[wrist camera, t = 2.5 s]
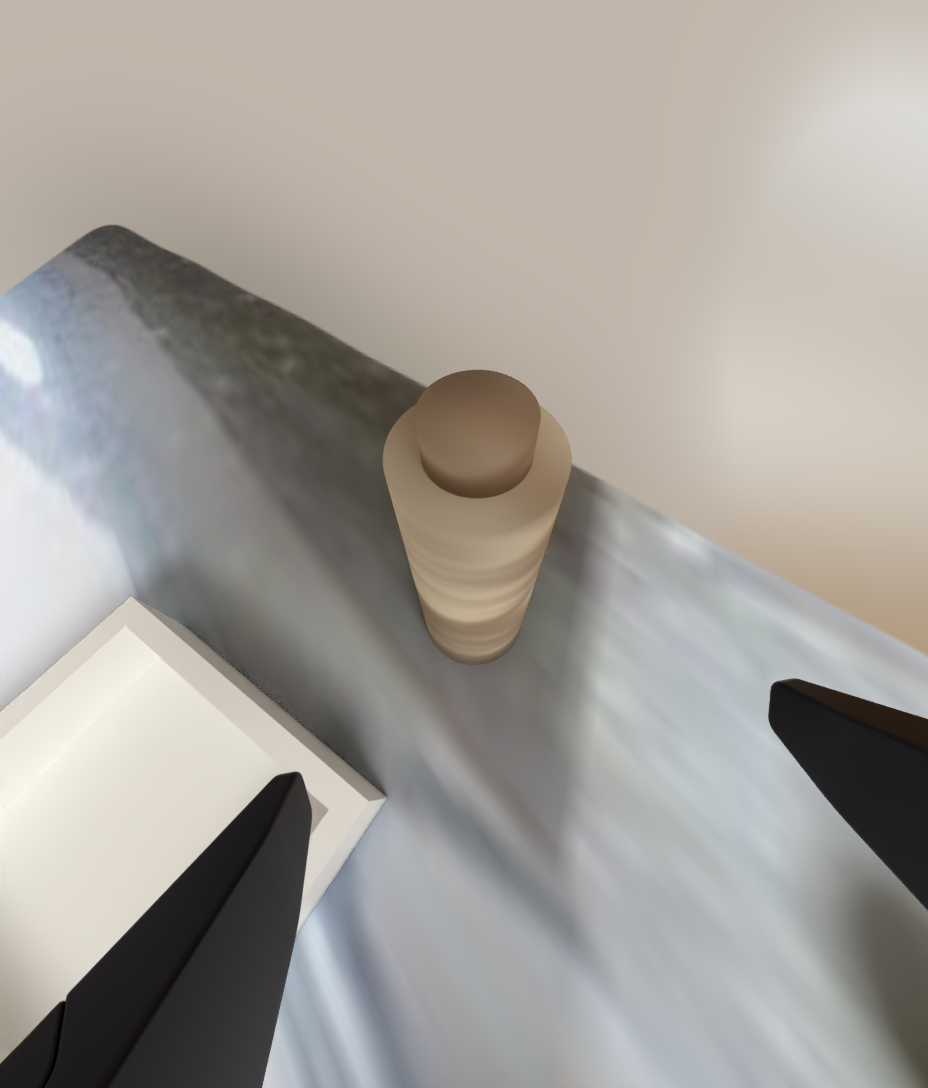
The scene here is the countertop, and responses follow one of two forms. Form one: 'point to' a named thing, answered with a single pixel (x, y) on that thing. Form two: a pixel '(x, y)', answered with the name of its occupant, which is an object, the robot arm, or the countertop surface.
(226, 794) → the bin
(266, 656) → the countertop surface
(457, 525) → the pepper mill
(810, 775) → the robot arm
